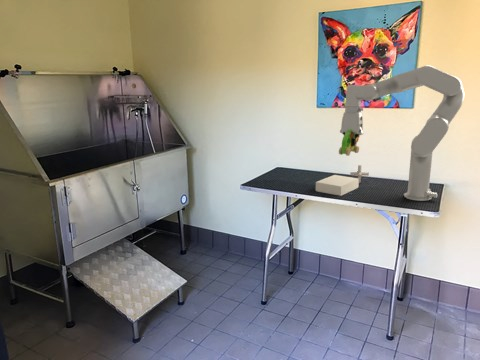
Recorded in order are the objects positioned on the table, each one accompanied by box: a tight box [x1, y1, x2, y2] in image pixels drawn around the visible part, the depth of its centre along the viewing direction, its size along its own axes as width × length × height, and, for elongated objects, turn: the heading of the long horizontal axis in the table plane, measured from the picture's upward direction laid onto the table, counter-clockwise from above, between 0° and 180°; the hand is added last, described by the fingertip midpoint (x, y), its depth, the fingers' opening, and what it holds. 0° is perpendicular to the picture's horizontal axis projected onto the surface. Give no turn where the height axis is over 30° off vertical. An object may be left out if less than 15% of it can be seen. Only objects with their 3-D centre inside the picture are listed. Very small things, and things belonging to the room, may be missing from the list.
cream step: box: [315, 174, 360, 197], centre depth 216 cm, size 15×20×5 cm
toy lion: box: [338, 129, 360, 156], centre depth 206 cm, size 16×5×15 cm, turn 139°
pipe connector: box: [349, 164, 370, 184], centre depth 228 cm, size 10×10×10 cm
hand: (350, 145), depth 206 cm, fingers closed on toy lion
